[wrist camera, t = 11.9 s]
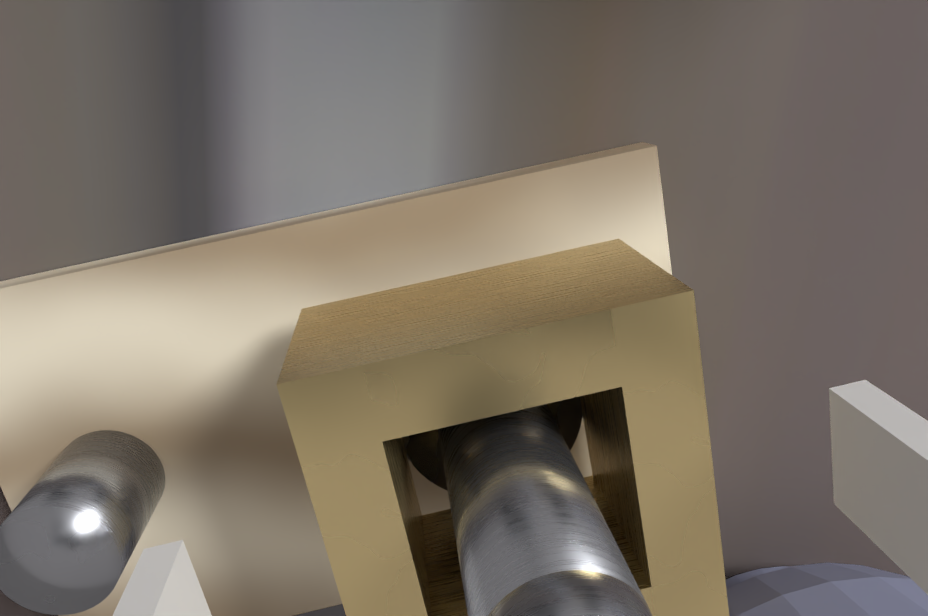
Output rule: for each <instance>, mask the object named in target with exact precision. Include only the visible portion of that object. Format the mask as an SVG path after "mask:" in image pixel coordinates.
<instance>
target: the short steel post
mask: <svg viewBox="0 0 928 616" xmlns="http://www.w3.org/2000/svg"><path fill="white" fill-rule="evenodd" d="M164 488H165V471H164V468H163V465H162V463H161V460H160V459H159V457H158V456H157V454H156V453H155V452H154V450H153V449H152V448H151V447H150V446H149V445H147V444H146V443H145V442H143V441H142V440H140V439H139V438H137V437H135V436H132V435H130V434H127V433H124V432H120V431H113V430H100V431H94V432H90V433H87V434H84V435H82V436H80V437H78V438H77V439H75V440H73V441H72V442H71V443H70V444H69V445H68V446H67V447H66V448H65V449H64V450H63V451H62V453H61V454H60V455H59V456H58V457H57V459H56V460H55V461H54V462H53V463H52V464H51V466H50V467H49V468H48V469H47V470H46V472H45V473H44V474H43V475H42V476H41V478H40V479H39V480H38V481H37V482H36V484H35V485H34V486H33V487H32V488H31V489H30V491H29V492H28V493H27V494H26V495H25V497H24V498H23V499H22V500H21V501H20V503H19V504H18V505H17V506H16V507H15V508H14V510H13V511H12V512H11V513H10V514H9V516H8V517H7V518H6V519H5V520H4V522H3V523H2V524H1V525H0V590H1V591H2V592H3V593H4V594H5V595H6V596H7V597H8V598H10V599H11V600H12V601H14V602H15V603H17V604H19V605H20V606H22V607H25V608H27V609H29V610H32V611H35V612H39V613H43V614H49V615H69V614H75V613H79V612H83V611H86V610H88V609H90V608H93V607H94V606H96V605H98V604H99V603H101V602H102V601H103V600H104V599H106V598H107V597H108V596H109V594H110V593H111V592H112V591H113V589H114V588H115V586H116V584H117V582H118V580H119V578H120V576H121V574H122V572H123V570H124V568H125V566H126V565H127V563H128V561H129V559H130V557H131V555H132V553H133V551H134V549H135V547H136V545H137V543H138V541H139V539H140V537H141V535H142V534H143V532H144V530H145V528H146V526H147V524H148V522H149V520H150V518H151V516H152V514H153V512H154V510H155V508H156V506H157V505H158V503H159V501H160V499H161V497H162V495H163V492H164Z"/></svg>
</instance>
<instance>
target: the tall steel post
mask: <svg viewBox="0 0 928 616" xmlns="http://www.w3.org/2000/svg"><path fill="white" fill-rule="evenodd" d="M582 417H583V415H582V409H581V403H580V397H574V398H570V399H566V400H561V401H557V402H553V403H548V404H544V405H540V406H535V407H531V408H527V409H522V410H518V411H514V412H509V413H505V414H501V415H496V416H492V417H487V418H483V419H479V420H474V421H470V422H466V423H461V424H457V425H453V426H448V427H444V428H440V429H435V430H431V431H427V432H422V433H418V434H414V435H409V436H405V437H403V441H404V445H405V449H406V453H407V457H408V459H409V460H410V462H411V463H412V465H413V466H414V467H415V468H416V469H417V470H418V471H419V472H420V474H422V475H423V476H424V477H425V478H426V479H428V480H429V481H430V482H432V483H434V484H435V485H437V486H438V487H440V488H443V489H445V490H447V491H448V496H449V502H450V509H451V515H452V521H453V527H454V533H455V540H456V546H457V552H458V558H459V564H460V571H461V577H462V583H463V589H464V596H465V602H466V608H467V614H468V616H652V614H651V611H650V609H649V607H648V605H647V603H646V601H645V599H644V597H643V595H642V593H641V591H640V589H639V587H638V585H637V583H636V581H635V579H634V577H633V575H632V573H631V571H630V569H629V567H628V565H627V563H626V561H625V559H624V557H623V555H622V553H621V551H620V549H619V547H618V545H617V543H616V541H615V539H614V537H613V535H612V533H611V531H610V529H609V527H608V525H607V523H606V521H605V519H604V517H603V515H602V513H601V511H600V509H599V507H598V505H597V503H596V501H595V499H594V497H593V495H592V493H591V491H590V489H589V487H588V485H587V483H586V481H585V479H584V477H583V475H582V473H581V472H580V470H579V468H578V466H577V464H576V462H575V460H574V458H573V456H572V454H571V452H570V450H571V449H572V447H573V445H574V443H575V441H576V438H577V436H578V433H579V430H580V427H581V422H582Z"/></svg>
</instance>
